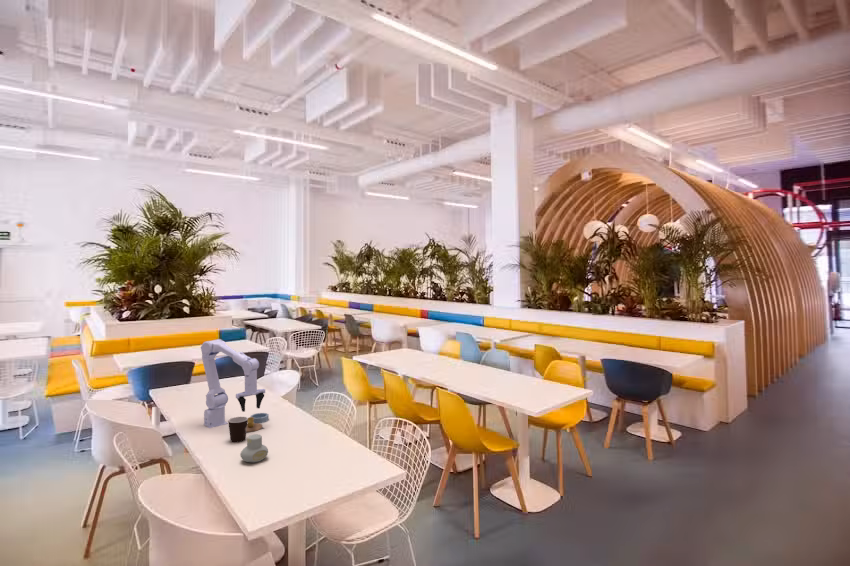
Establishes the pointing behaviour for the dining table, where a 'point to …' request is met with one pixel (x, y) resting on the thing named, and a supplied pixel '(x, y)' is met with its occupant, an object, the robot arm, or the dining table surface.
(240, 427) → the coffee mug
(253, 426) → the lid
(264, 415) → the bowl
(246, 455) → the air freshener
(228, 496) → the dining table surface
